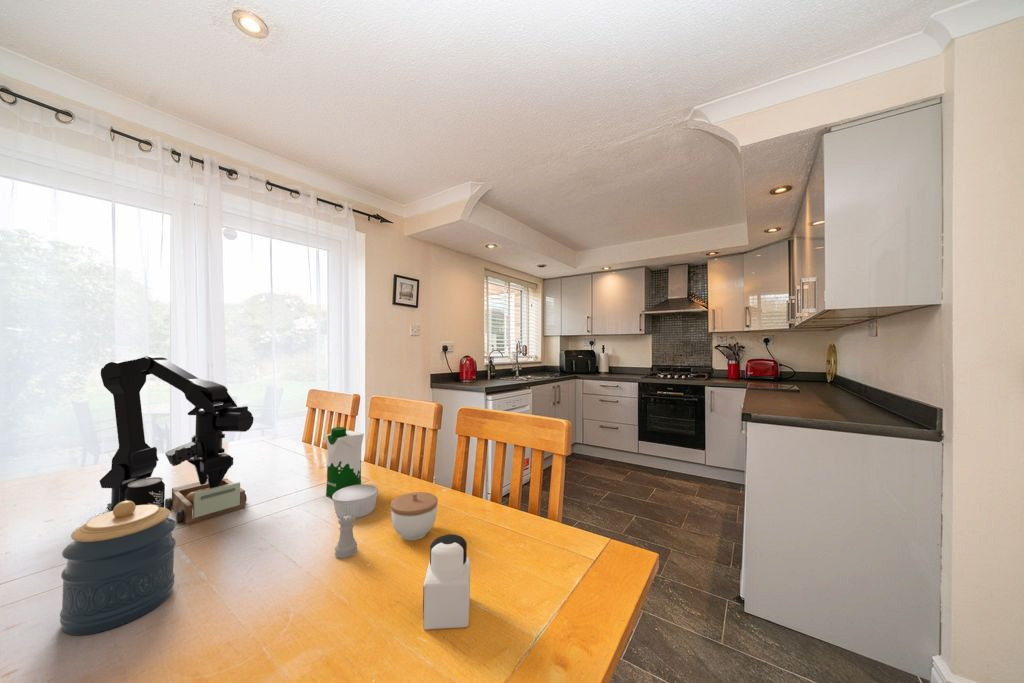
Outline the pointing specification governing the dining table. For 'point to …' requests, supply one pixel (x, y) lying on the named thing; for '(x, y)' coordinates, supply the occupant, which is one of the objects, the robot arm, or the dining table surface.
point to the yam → (192, 496)
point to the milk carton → (343, 459)
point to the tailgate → (216, 499)
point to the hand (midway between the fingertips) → (207, 488)
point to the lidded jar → (414, 514)
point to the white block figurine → (447, 584)
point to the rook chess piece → (346, 537)
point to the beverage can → (146, 492)
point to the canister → (117, 568)
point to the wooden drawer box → (186, 508)
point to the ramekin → (355, 500)
